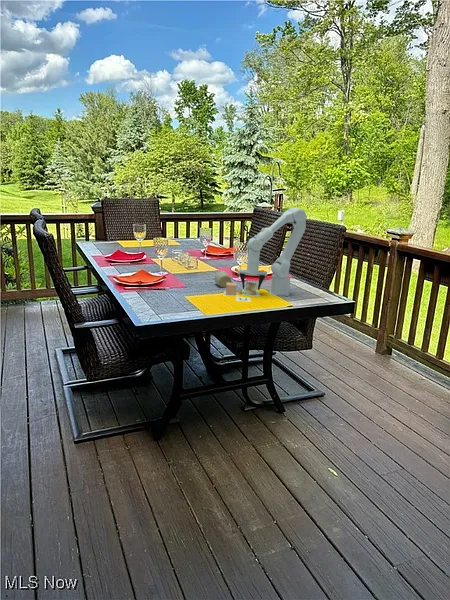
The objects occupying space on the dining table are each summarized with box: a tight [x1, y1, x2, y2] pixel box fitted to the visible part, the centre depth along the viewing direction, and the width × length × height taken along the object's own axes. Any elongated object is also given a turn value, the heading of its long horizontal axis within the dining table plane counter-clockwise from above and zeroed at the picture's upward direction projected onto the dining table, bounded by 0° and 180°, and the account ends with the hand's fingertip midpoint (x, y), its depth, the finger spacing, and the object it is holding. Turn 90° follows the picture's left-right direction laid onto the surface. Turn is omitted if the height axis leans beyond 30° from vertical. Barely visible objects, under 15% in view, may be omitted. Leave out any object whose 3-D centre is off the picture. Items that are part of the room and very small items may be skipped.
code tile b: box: [223, 290, 239, 297], centre depth 217 cm, size 7×7×1 cm
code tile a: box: [235, 296, 251, 303], centre depth 209 cm, size 7×7×1 cm
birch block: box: [245, 281, 258, 295], centre depth 219 cm, size 5×5×5 cm
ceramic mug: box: [213, 270, 234, 289], centre depth 230 cm, size 11×8×8 cm
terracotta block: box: [225, 282, 238, 296], centre depth 216 cm, size 5×5×5 cm
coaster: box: [241, 289, 261, 297], centre depth 220 cm, size 9×9×1 cm
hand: (251, 288), depth 219 cm, fingers open, 7 cm apart
